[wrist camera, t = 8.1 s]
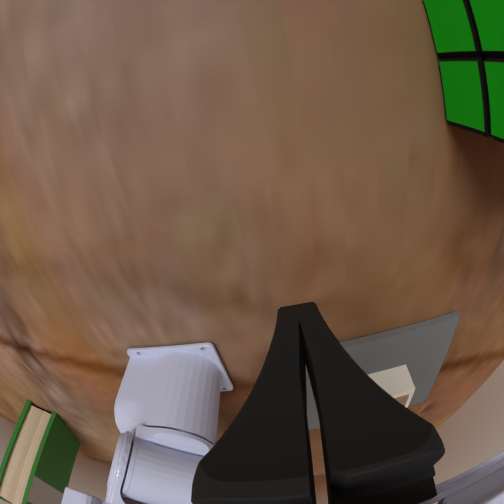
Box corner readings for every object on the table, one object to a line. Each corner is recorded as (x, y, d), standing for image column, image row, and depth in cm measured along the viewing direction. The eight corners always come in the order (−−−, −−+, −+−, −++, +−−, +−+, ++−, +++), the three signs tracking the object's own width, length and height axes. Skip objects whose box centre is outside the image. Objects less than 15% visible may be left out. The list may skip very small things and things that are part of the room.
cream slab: (333, 381, 29) (333, 413, 33) (339, 410, 26) (337, 437, 30) (405, 364, 28) (395, 398, 32) (416, 390, 25) (402, 421, 29)
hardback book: (27, 399, 39) (-8, 493, 19) (56, 412, 40) (23, 513, 19) (54, 433, 48) (30, 511, 27) (79, 444, 49) (58, 525, 28)
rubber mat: (292, 427, 36) (292, 432, 36) (272, 353, 27) (272, 359, 27) (423, 396, 34) (425, 401, 33) (456, 310, 25) (460, 315, 24)
